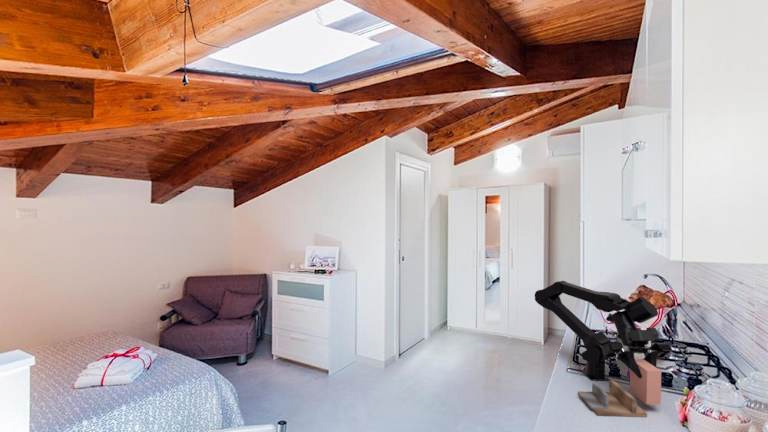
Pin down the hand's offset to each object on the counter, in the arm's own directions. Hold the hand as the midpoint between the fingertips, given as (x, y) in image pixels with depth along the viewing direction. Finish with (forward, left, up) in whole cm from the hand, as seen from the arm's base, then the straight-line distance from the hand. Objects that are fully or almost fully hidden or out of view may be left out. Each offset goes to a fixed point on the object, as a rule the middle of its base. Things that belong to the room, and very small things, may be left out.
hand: (648, 377), depth 112 cm
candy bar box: (-23, +10, -10) cm, 27 cm away
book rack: (-1, -10, -9) cm, 14 cm away
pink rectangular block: (-1, 0, -7) cm, 7 cm away
